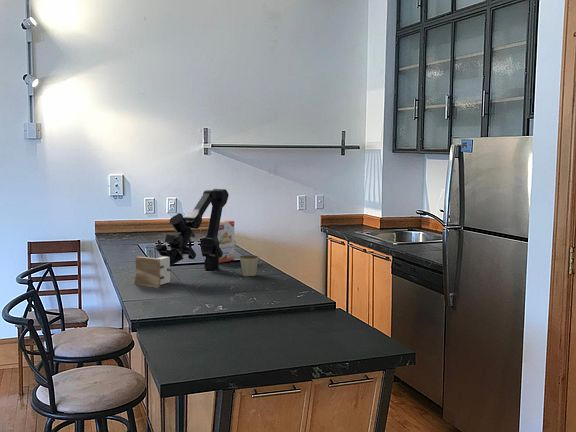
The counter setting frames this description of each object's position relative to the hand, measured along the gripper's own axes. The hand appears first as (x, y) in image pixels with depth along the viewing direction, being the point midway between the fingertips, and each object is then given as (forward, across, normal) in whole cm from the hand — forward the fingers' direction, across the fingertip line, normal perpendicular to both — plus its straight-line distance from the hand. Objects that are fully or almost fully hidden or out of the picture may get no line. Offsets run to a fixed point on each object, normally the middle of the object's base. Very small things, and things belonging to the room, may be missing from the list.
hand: (167, 267), depth 280 cm
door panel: (+8, 0, +2) cm, 8 cm away
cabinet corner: (+7, -4, +3) cm, 8 cm away
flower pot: (-17, +23, +27) cm, 39 cm away
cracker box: (-33, -8, +43) cm, 55 cm away
